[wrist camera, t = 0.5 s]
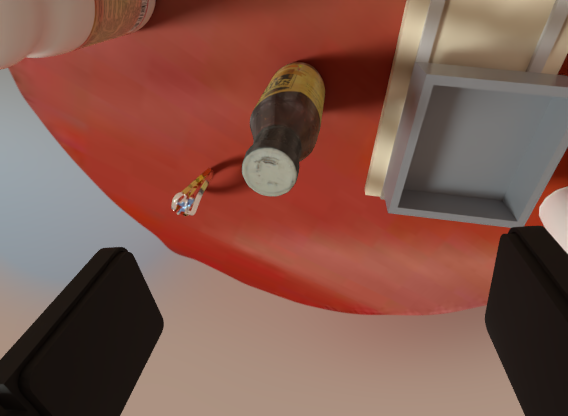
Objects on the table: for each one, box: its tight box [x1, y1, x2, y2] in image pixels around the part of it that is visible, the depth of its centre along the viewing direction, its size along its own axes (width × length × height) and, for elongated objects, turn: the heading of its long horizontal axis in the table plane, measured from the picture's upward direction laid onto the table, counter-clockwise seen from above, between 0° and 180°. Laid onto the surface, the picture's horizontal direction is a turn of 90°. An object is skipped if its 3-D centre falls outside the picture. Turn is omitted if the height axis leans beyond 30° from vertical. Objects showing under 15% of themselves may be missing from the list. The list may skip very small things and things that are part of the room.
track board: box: [365, 0, 568, 199], centre depth 37 cm, size 30×16×2 cm, turn 176°
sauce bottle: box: [242, 62, 325, 196], centre depth 33 cm, size 6×6×20 cm
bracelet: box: [172, 168, 214, 216], centre depth 46 cm, size 7×3×8 cm, turn 134°
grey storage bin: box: [383, 62, 568, 228], centre depth 36 cm, size 14×14×7 cm
